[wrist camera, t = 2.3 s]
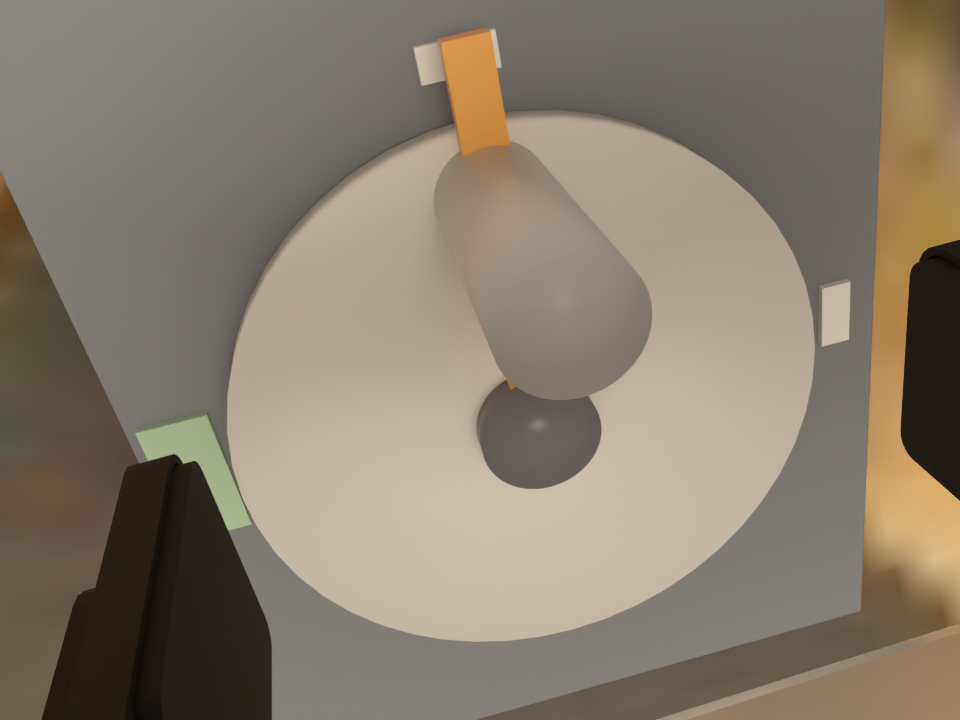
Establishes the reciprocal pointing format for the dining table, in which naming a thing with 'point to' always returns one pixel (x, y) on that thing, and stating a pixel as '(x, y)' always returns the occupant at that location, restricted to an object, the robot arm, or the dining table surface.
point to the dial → (517, 370)
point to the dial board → (359, 139)
